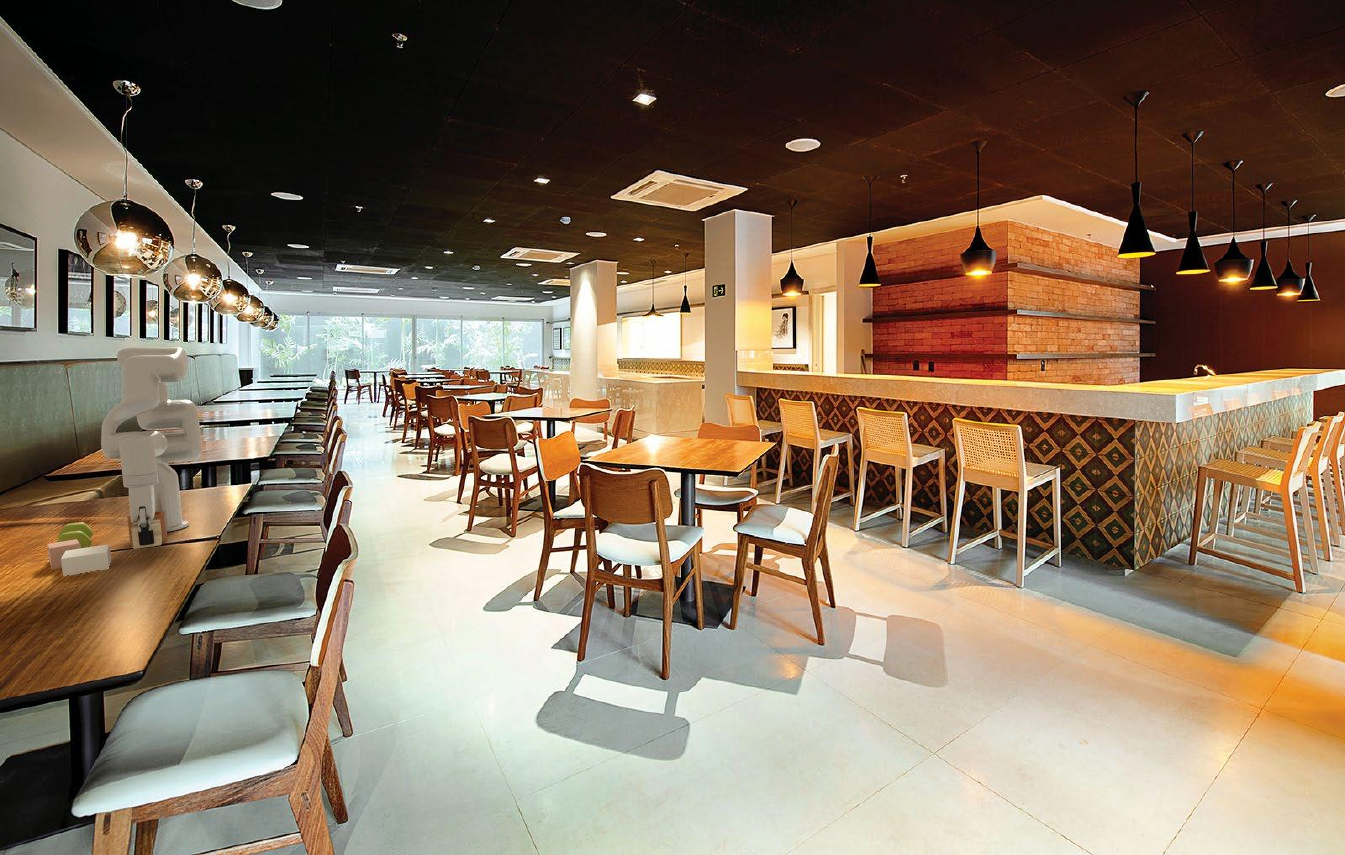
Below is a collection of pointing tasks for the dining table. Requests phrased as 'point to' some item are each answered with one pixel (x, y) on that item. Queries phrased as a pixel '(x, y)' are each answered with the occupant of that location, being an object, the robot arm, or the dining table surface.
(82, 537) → the dumbbell
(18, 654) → the dining table surface
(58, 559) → the pink cube
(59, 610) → the dining table surface
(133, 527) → the maple cube
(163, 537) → the mug
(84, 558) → the base block
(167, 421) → the robot arm
